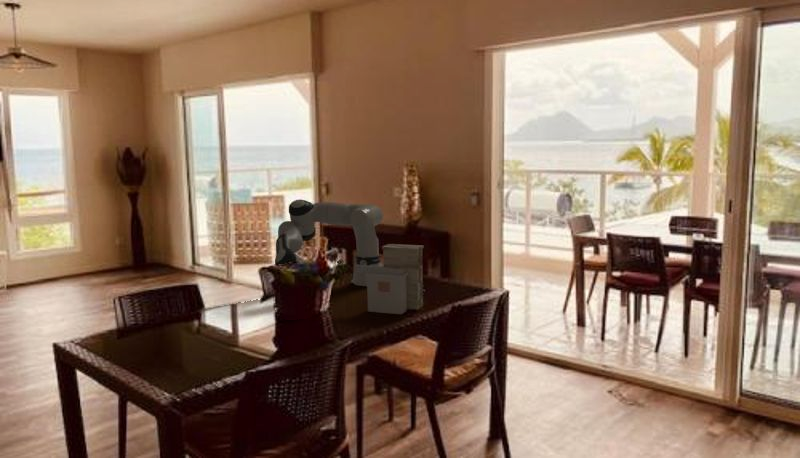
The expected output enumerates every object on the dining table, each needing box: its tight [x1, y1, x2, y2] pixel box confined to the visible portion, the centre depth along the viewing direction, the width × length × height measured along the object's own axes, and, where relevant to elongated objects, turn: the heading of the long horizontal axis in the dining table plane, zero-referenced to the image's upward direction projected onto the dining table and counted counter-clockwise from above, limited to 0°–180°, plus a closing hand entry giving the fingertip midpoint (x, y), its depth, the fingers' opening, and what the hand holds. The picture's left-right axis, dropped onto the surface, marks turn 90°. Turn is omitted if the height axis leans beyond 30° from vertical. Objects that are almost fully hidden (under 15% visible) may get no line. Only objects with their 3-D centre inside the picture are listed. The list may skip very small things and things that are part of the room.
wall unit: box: [381, 243, 425, 311], centre depth 256 cm, size 8×16×26 cm, turn 70°
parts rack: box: [365, 273, 408, 315], centre depth 250 cm, size 7×16×16 cm, turn 70°
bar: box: [353, 264, 406, 275], centre depth 250 cm, size 22×3×3 cm, turn 69°
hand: (337, 262), depth 256 cm, fingers open, 8 cm apart
